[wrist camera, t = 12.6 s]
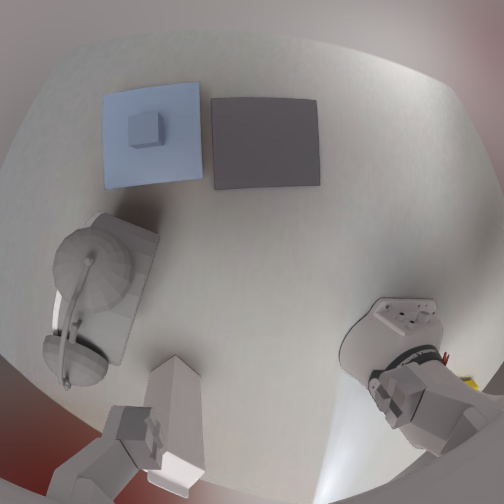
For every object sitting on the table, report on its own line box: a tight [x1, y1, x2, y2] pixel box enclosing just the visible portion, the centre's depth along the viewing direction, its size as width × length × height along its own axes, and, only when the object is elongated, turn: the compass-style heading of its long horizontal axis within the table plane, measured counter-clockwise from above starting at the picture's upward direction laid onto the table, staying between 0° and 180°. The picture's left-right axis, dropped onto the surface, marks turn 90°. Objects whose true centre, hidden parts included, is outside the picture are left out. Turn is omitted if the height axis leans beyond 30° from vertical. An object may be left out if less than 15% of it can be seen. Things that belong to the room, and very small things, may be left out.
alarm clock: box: [43, 211, 160, 391], centre depth 26 cm, size 16×9×22 cm, turn 154°
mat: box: [211, 98, 320, 190], centre depth 35 cm, size 14×12×1 cm
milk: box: [142, 355, 205, 498], centre depth 32 cm, size 6×6×22 cm
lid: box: [102, 82, 203, 190], centre depth 26 cm, size 11×11×5 cm
